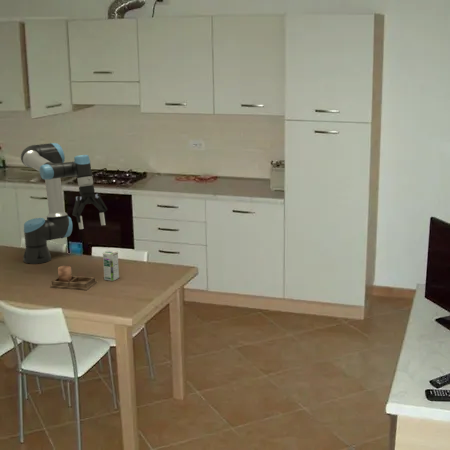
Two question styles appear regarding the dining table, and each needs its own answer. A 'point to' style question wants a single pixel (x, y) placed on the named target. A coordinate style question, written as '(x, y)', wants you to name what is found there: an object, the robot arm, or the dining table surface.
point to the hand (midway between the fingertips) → (92, 227)
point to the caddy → (71, 280)
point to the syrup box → (110, 265)
